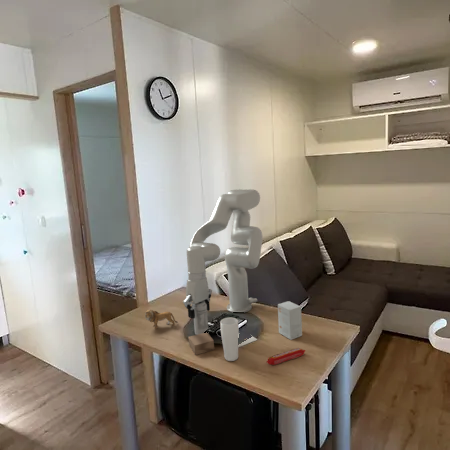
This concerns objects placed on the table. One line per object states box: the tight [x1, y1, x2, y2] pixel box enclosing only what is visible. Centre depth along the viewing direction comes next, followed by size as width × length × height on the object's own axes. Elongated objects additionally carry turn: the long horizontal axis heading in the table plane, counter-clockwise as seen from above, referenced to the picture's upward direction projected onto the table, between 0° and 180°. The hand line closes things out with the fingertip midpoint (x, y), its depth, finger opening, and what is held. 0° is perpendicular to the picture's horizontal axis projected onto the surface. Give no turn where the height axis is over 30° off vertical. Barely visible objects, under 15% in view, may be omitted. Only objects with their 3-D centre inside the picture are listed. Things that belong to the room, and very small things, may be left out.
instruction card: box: [238, 335, 258, 348], centre depth 151 cm, size 12×9×1 cm
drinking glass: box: [219, 316, 240, 362], centre depth 137 cm, size 7×7×15 cm
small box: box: [277, 300, 303, 341], centre depth 153 cm, size 8×6×13 cm
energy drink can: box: [193, 300, 209, 335], centre depth 157 cm, size 6×6×15 cm
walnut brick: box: [188, 332, 215, 355], centre depth 147 cm, size 8×8×4 cm
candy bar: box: [266, 347, 306, 366], centre depth 135 cm, size 16×4×3 cm, turn 115°
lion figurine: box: [144, 309, 179, 330], centre depth 169 cm, size 15×5×9 cm, turn 108°
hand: (199, 313), depth 157 cm, fingers open, 9 cm apart
